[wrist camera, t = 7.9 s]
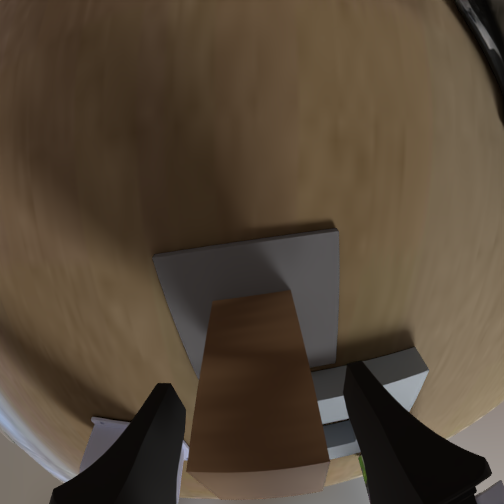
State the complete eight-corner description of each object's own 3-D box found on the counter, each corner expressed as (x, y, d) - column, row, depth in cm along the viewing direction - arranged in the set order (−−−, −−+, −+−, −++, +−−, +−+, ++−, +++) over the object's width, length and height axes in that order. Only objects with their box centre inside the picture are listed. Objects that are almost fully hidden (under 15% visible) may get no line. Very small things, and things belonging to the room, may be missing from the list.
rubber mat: (198, 374, 17) (198, 379, 17) (154, 254, 13) (152, 257, 13) (333, 358, 16) (335, 362, 16) (336, 228, 13) (338, 231, 12)
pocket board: (250, 449, 22) (250, 469, 20) (223, 382, 17) (221, 411, 15) (384, 424, 22) (391, 442, 19) (414, 346, 17) (429, 370, 14)
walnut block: (228, 354, 16) (220, 499, 7) (212, 300, 14) (186, 471, 6) (296, 346, 15) (322, 491, 7) (290, 289, 14) (330, 461, 5)
